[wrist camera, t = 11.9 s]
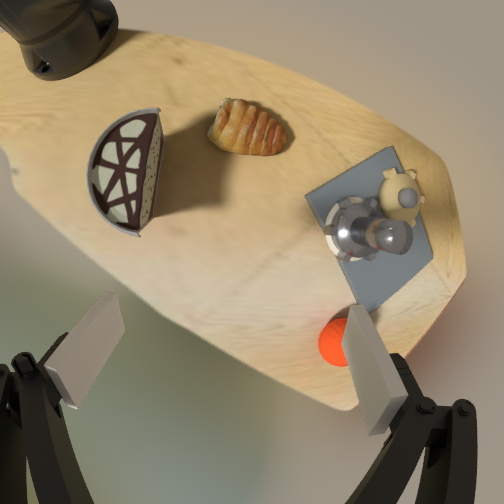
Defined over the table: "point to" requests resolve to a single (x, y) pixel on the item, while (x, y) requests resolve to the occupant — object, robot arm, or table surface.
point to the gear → (366, 231)
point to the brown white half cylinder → (127, 170)
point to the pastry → (246, 130)
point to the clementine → (333, 342)
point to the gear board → (388, 207)
